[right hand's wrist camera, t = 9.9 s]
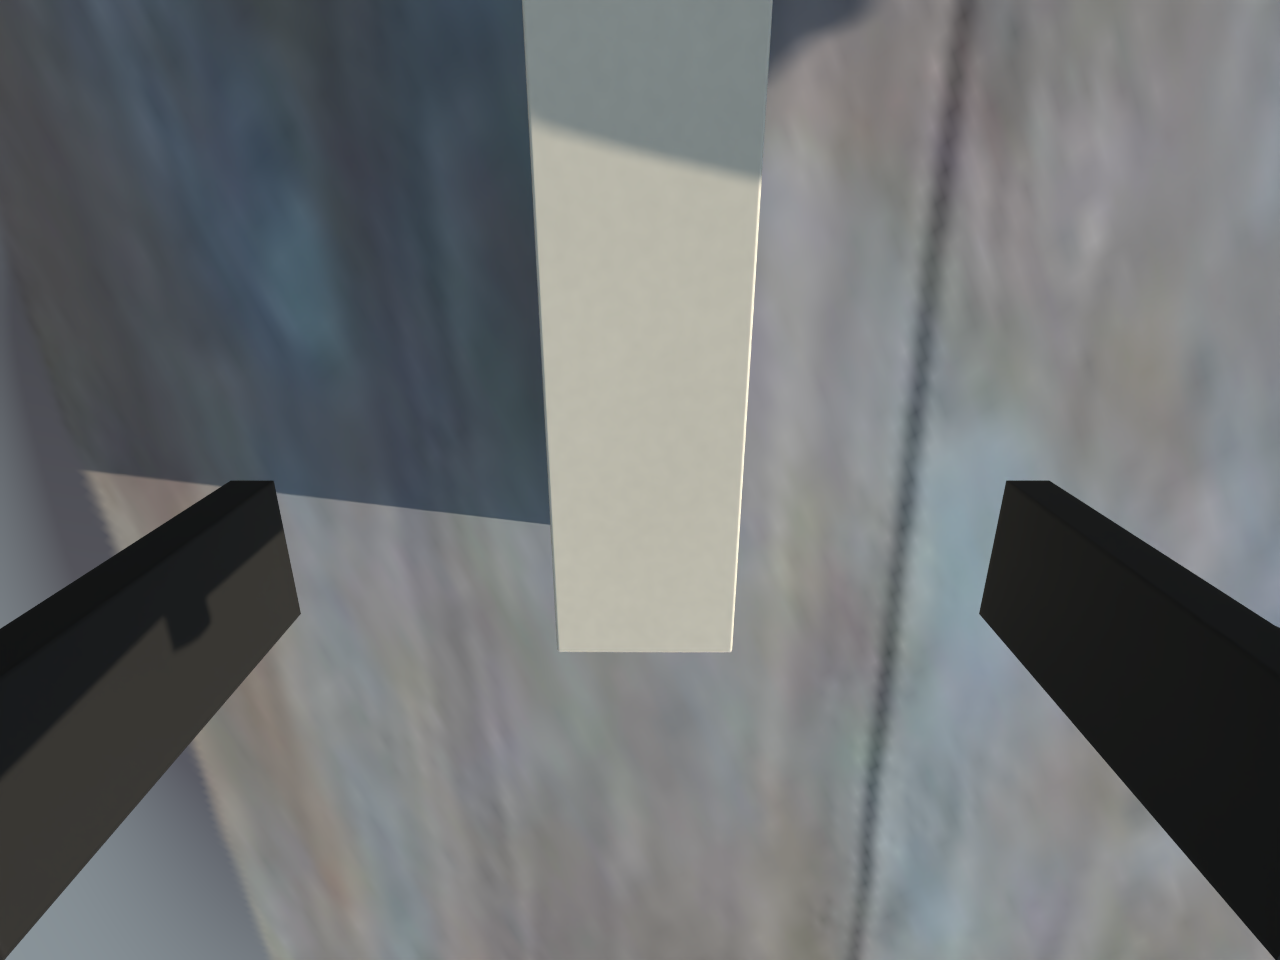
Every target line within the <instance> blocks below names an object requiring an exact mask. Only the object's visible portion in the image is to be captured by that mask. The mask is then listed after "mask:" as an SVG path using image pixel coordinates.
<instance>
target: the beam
mask: <svg viewBox="0 0 1280 960" xmlns="http://www.w3.org/2000/svg"><path fill="white" fill-rule="evenodd" d="M772 5H773V0H522V11H523V29H524V47H525V66H526V84H527V103H528V121H529V139H530V158H531V176H532V195H533V213H534V231H535V250H536V268H537V287H538V305H539V323H540V342H541V360H542V379H543V397H544V415H545V434H546V452H547V471H548V489H549V507H550V526H551V544H552V562H553V581H554V599H555V618H556V636H557V650H558V651H559V652H731V651H732V641H733V625H734V609H735V593H736V577H737V562H738V546H739V530H740V514H741V498H742V482H743V466H744V450H745V434H746V418H747V403H748V387H749V371H750V355H751V339H752V323H753V307H754V291H755V275H756V259H757V244H758V228H759V212H760V196H761V180H762V164H763V148H764V132H765V116H766V100H767V85H768V69H769V53H770V37H771V21H772Z"/></svg>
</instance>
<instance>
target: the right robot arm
mask: <svg viewBox="0 0 1280 960" xmlns="http://www.w3.org/2000/svg"><path fill="white" fill-rule="evenodd" d="M300 614H301V613H300V608H299V603H298V598H297V593H296V588H295V583H294V578H293V573H292V569H291V564H290V559H289V554H288V549H287V544H286V539H285V534H284V529H283V524H282V520H281V515H280V510H279V505H278V500H277V495H276V490H275V485H274V481H230V482H228V483H226V484H225V485H223V486H222V487H220V488H219V489H217V490H216V491H214V492H212V493H211V494H209V495H208V496H206V497H205V498H203V499H202V500H200V501H198V502H197V503H195V504H194V505H192V506H191V507H189V508H188V509H186V510H184V511H183V512H181V513H180V514H178V515H177V516H175V517H174V518H172V519H170V520H169V521H167V522H166V523H164V524H163V525H161V526H160V527H158V528H156V529H155V530H153V531H152V532H150V533H149V534H147V535H146V536H144V537H142V538H141V539H139V540H138V541H136V542H135V543H133V544H132V545H130V546H128V547H127V548H125V549H124V550H122V551H121V552H119V553H118V554H116V555H114V556H113V557H111V558H110V559H108V560H107V561H105V562H104V563H102V564H100V565H99V566H97V567H96V568H94V569H93V570H91V571H90V572H88V573H86V574H85V575H83V576H82V577H80V578H79V579H77V580H76V581H74V582H73V583H71V584H69V585H68V586H66V587H65V588H63V589H62V590H60V591H58V592H57V593H55V594H54V595H52V596H51V597H49V598H48V599H46V600H44V601H43V602H41V603H40V604H38V605H37V606H35V607H34V608H32V609H31V610H29V611H27V612H26V613H24V614H23V615H21V616H20V617H18V618H16V619H15V620H13V621H12V622H10V623H9V624H7V625H6V626H4V627H2V628H1V629H0V960H5V959H6V957H7V956H8V955H9V954H10V953H11V951H12V950H13V949H14V948H15V947H16V946H17V944H18V943H19V942H20V941H21V940H22V939H23V938H24V936H25V935H26V934H27V933H28V932H29V931H30V929H31V928H32V927H33V926H34V925H35V923H36V922H37V921H38V920H39V919H40V918H41V916H42V915H43V914H44V913H45V912H46V911H47V909H48V908H49V907H50V906H51V905H52V904H53V902H54V901H55V900H56V899H57V898H58V897H59V895H60V894H61V893H62V892H63V891H64V890H65V888H66V887H67V886H68V885H69V884H70V883H71V881H72V880H73V879H74V878H75V877H76V876H77V874H78V873H79V872H80V871H81V870H82V869H83V867H84V866H85V865H86V864H87V863H88V862H89V860H90V859H91V858H92V857H93V856H94V855H95V853H96V852H97V851H98V850H99V849H100V848H101V846H102V845H103V844H104V843H105V842H106V841H107V839H108V838H109V837H110V836H111V835H112V834H113V832H114V831H115V830H116V829H117V828H118V827H119V825H120V824H121V823H122V822H123V821H124V820H125V818H126V817H127V816H128V815H129V814H130V813H131V811H132V810H133V809H134V808H135V807H136V806H137V804H138V803H139V802H140V801H141V800H142V799H143V797H144V796H145V795H146V794H147V793H148V791H149V790H150V789H151V788H152V787H153V786H154V785H155V783H156V782H157V781H158V780H159V779H160V778H161V776H162V775H163V774H164V773H165V772H166V771H167V769H168V768H169V767H170V766H171V765H172V763H173V762H174V761H175V760H176V759H177V758H178V757H179V755H180V754H181V753H182V752H183V751H184V750H185V748H186V747H187V746H188V745H189V744H190V742H191V741H192V740H193V739H194V738H195V737H196V735H197V734H198V733H199V732H200V731H201V730H202V728H203V727H204V726H205V725H206V724H207V723H208V721H209V720H210V719H211V718H212V717H213V716H214V714H215V713H216V712H217V711H218V710H219V709H220V707H221V706H222V705H223V704H224V703H225V702H226V700H227V699H228V698H229V697H230V696H231V695H232V693H233V692H234V691H235V690H236V689H237V688H238V686H239V685H240V684H241V683H242V682H243V681H244V679H245V678H246V677H247V676H248V675H249V674H250V672H251V671H252V670H253V669H254V668H255V667H256V665H257V664H258V663H259V662H260V661H261V660H262V658H263V657H264V656H265V655H266V654H267V653H268V651H269V650H270V649H271V648H272V647H273V646H274V644H275V643H276V642H277V641H278V640H279V639H280V637H281V636H282V635H283V634H284V633H285V632H286V630H287V629H288V628H289V627H290V626H291V625H292V623H293V622H294V621H295V620H296V619H297V618H298V616H299V615H300ZM979 614H980V615H981V616H982V618H983V619H984V620H985V621H986V622H987V623H988V625H989V626H990V627H991V628H992V629H993V630H994V632H995V633H996V634H997V635H998V636H999V637H1000V639H1001V640H1002V641H1003V642H1004V643H1005V644H1006V646H1007V647H1008V648H1009V649H1010V650H1011V651H1012V653H1013V654H1014V655H1015V656H1016V657H1017V658H1018V660H1019V661H1020V662H1021V663H1022V664H1023V665H1024V667H1025V668H1026V669H1027V670H1028V671H1029V672H1030V674H1031V675H1032V676H1033V677H1034V678H1035V679H1036V681H1037V682H1038V683H1039V684H1040V685H1041V686H1042V688H1043V689H1044V690H1045V691H1046V692H1047V693H1048V695H1049V696H1050V697H1051V698H1052V699H1053V700H1054V702H1055V703H1056V704H1057V705H1058V706H1059V707H1060V709H1061V710H1062V711H1063V712H1064V713H1065V714H1066V716H1067V717H1068V718H1069V719H1070V720H1071V721H1072V723H1073V724H1074V725H1075V726H1076V727H1077V728H1078V730H1079V731H1080V732H1081V733H1082V734H1083V735H1084V737H1085V738H1086V739H1087V740H1088V741H1089V743H1090V744H1091V745H1092V746H1093V747H1094V748H1095V750H1096V751H1097V752H1098V753H1099V754H1100V755H1101V757H1102V758H1103V759H1104V760H1105V761H1106V762H1107V764H1108V765H1109V766H1110V767H1111V768H1112V769H1113V771H1114V772H1115V773H1116V774H1117V775H1118V776H1119V778H1120V779H1121V780H1122V781H1123V782H1124V783H1125V785H1126V786H1127V787H1128V788H1129V789H1130V790H1131V792H1132V793H1133V794H1134V795H1135V796H1136V797H1137V799H1138V800H1139V801H1140V802H1141V803H1142V804H1143V806H1144V807H1145V808H1146V809H1147V810H1148V811H1149V813H1150V814H1151V815H1152V816H1153V817H1154V818H1155V820H1156V821H1157V822H1158V823H1159V824H1160V825H1161V827H1162V828H1163V829H1164V830H1165V831H1166V832H1167V834H1168V835H1169V836H1170V837H1171V838H1172V839H1173V841H1174V842H1175V843H1176V844H1177V845H1178V846H1179V848H1180V849H1181V850H1182V851H1183V852H1184V853H1185V855H1186V856H1187V857H1188V858H1189V859H1190V860H1191V862H1192V863H1193V864H1194V865H1195V866H1196V867H1197V869H1198V870H1199V871H1200V872H1201V873H1202V874H1203V876H1204V877H1205V878H1206V879H1207V880H1208V881H1209V883H1210V884H1211V885H1212V886H1213V887H1214V888H1215V890H1216V891H1217V892H1218V893H1219V894H1220V895H1221V897H1222V898H1223V899H1224V900H1225V901H1226V902H1227V904H1228V905H1229V906H1230V907H1231V908H1232V909H1233V911H1234V912H1235V913H1236V914H1237V915H1238V917H1239V918H1240V919H1241V920H1242V921H1243V922H1244V924H1245V925H1246V926H1247V927H1248V928H1249V929H1250V931H1251V932H1252V933H1253V934H1254V935H1255V936H1256V938H1257V939H1258V940H1259V941H1260V942H1261V943H1262V945H1263V946H1264V947H1265V948H1266V949H1267V950H1268V952H1269V953H1270V954H1271V955H1272V956H1273V957H1274V959H1275V960H1280V628H1279V627H1277V626H1274V625H1273V624H1271V623H1270V622H1268V621H1267V620H1265V619H1264V618H1262V617H1260V616H1259V615H1257V614H1256V613H1254V612H1253V611H1251V610H1250V609H1248V608H1246V607H1245V606H1243V605H1242V604H1240V603H1239V602H1237V601H1236V600H1234V599H1232V598H1231V597H1229V596H1228V595H1226V594H1225V593H1223V592H1222V591H1220V590H1218V589H1217V588H1215V587H1214V586H1212V585H1211V584H1209V583H1208V582H1206V581H1204V580H1203V579H1201V578H1200V577H1198V576H1197V575H1195V574H1194V573H1192V572H1190V571H1189V570H1187V569H1186V568H1184V567H1183V566H1181V565H1180V564H1178V563H1176V562H1175V561H1173V560H1172V559H1170V558H1169V557H1167V556H1166V555H1164V554H1162V553H1161V552H1159V551H1158V550H1156V549H1155V548H1153V547H1152V546H1150V545H1148V544H1147V543H1145V542H1144V541H1142V540H1141V539H1139V538H1138V537H1136V536H1134V535H1133V534H1131V533H1130V532H1128V531H1127V530H1125V529H1124V528H1122V527H1120V526H1119V525H1117V524H1116V523H1114V522H1113V521H1111V520H1110V519H1108V518H1106V517H1105V516H1103V515H1102V514H1100V513H1099V512H1097V511H1096V510H1094V509H1092V508H1091V507H1089V506H1088V505H1086V504H1085V503H1083V502H1082V501H1080V500H1078V499H1077V498H1075V497H1074V496H1072V495H1071V494H1069V493H1068V492H1066V491H1064V490H1063V489H1061V488H1060V487H1058V486H1057V485H1055V484H1054V483H1052V482H1050V481H1006V485H1005V490H1004V495H1003V500H1002V505H1001V510H1000V515H999V520H998V524H997V529H996V534H995V539H994V544H993V549H992V554H991V559H990V564H989V569H988V573H987V578H986V583H985V588H984V593H983V598H982V603H981V608H980V613H979Z"/></svg>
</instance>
